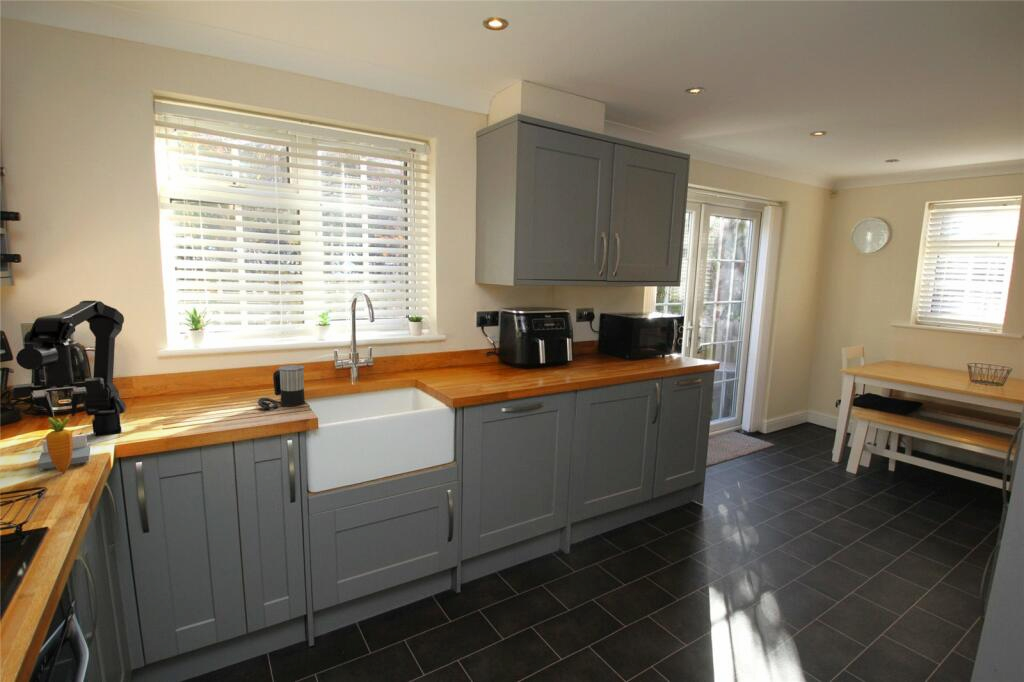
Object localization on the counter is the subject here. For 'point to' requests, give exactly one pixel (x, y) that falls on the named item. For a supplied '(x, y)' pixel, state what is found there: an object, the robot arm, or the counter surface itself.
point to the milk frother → (287, 387)
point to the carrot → (60, 444)
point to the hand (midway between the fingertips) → (63, 417)
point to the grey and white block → (78, 454)
